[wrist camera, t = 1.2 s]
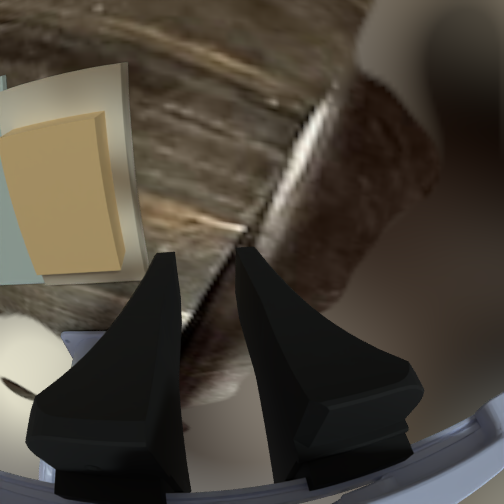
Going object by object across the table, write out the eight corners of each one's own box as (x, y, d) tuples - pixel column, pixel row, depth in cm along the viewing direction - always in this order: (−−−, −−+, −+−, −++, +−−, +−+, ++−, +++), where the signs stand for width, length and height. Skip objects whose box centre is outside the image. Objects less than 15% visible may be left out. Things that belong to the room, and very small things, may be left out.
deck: (148, 262, 23) (146, 280, 21) (53, 268, 22) (45, 285, 20) (127, 62, 15) (120, 63, 13) (11, 87, 13) (-5, 93, 12)
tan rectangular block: (125, 250, 20) (121, 270, 18) (46, 256, 19) (36, 275, 17) (104, 110, 14) (94, 118, 13) (13, 129, 13) (-3, 139, 12)
